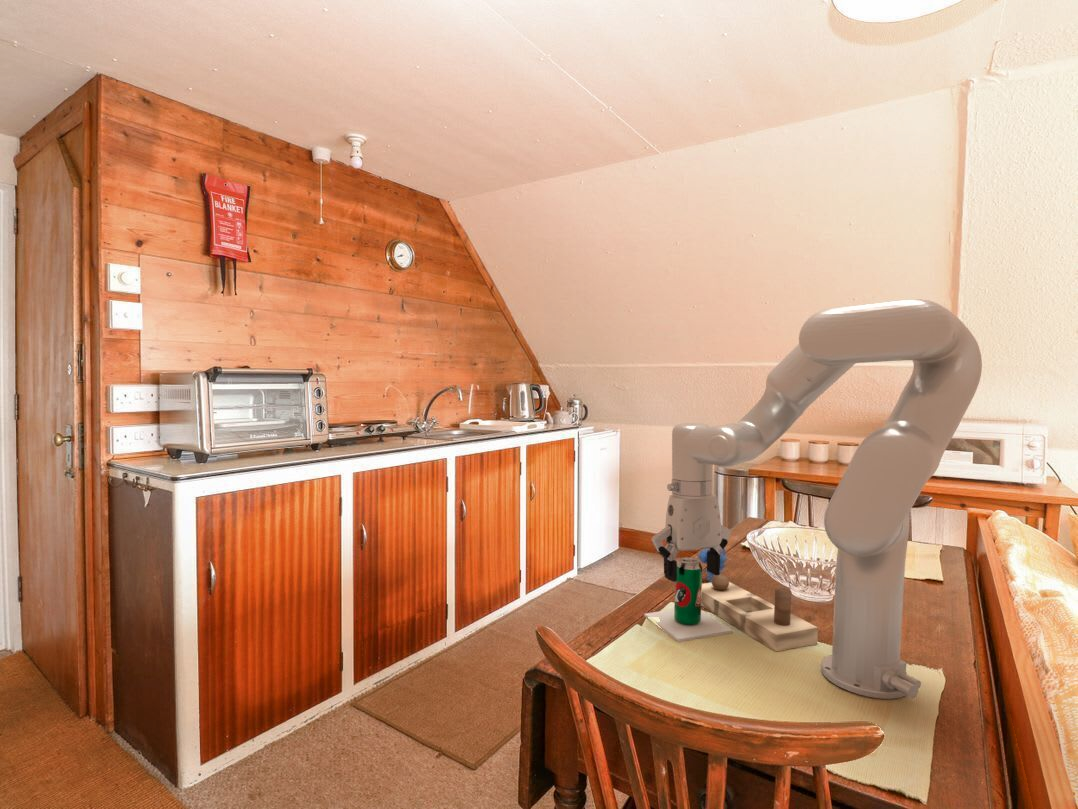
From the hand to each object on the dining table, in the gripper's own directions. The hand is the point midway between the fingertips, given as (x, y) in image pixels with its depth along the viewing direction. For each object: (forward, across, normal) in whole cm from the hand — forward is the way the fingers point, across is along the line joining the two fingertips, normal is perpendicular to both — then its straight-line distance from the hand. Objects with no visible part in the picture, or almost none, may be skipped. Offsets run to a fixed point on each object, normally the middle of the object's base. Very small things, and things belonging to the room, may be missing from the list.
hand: (692, 576), depth 115 cm
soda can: (+9, 0, +1) cm, 9 cm away
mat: (+10, 0, +1) cm, 10 cm away
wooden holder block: (+10, +12, -1) cm, 16 cm away
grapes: (+10, +19, +19) cm, 28 cm away
